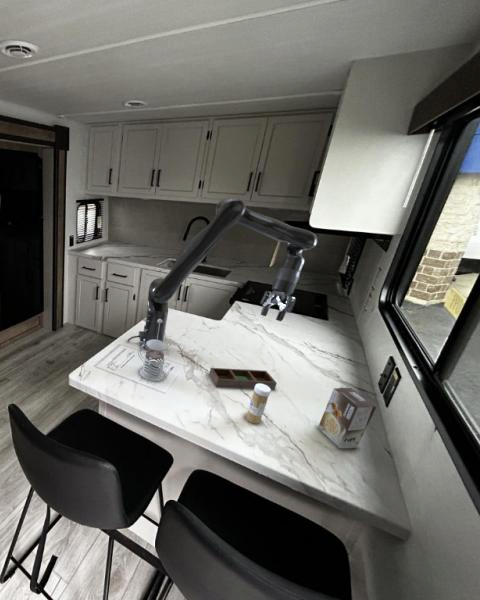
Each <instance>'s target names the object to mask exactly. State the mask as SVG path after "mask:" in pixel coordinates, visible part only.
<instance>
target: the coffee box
mask: <svg viewBox="0 0 480 600" xmlns="http://www.w3.org/2000/svg"><path fill="white" fill-rule="evenodd" d="M376 409H377V405H376V404H374V403H373V402H371V401H370V400H368V399H367V398H366V397H364V396H363V395H362V394H361V393H359V392H357V390H355V389H354V388H352V387H337V388H336V387H334V388H333V389H332V391H331V394H330V397H329V400H328V402H327V404H326V407H325V409H324V411H323V413H322V416H321V419H320V421H319V424H318V427H317V428H318V429H319V430H320V431H321V432H322V433H323V434H324V435H325V436H326V437H327V438H329V440H330V441H331V442H332V443H333V444H334V445H336V447H337V448H339V449H357V448H358V447H359V444H360V442H361V440H362V438H363V436H364V434H365V432H366V429H368V428H367V427H368V425H369V423H370V421H371V419H372V417H373V416H374V414H375V411H376Z"/></svg>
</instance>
